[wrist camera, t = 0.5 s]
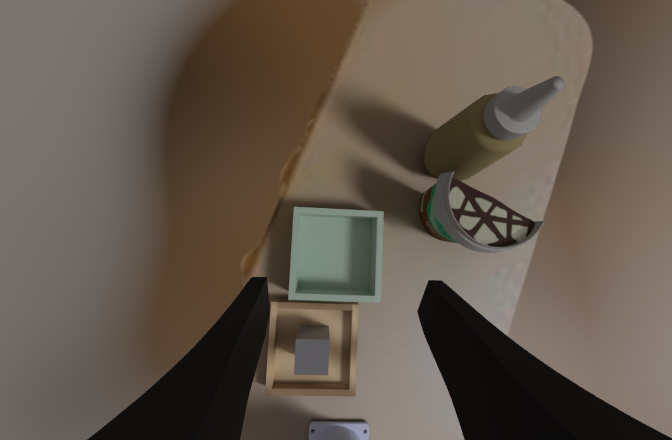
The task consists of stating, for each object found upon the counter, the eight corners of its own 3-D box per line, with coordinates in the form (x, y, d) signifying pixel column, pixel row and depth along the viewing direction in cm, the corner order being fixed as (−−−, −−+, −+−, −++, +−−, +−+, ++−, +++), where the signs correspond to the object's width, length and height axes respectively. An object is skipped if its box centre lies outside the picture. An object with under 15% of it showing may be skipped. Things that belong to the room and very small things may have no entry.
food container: (395, 224, 35) (423, 218, 25) (414, 188, 36) (449, 168, 26) (468, 265, 35) (526, 275, 25) (486, 228, 36) (548, 224, 26)
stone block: (327, 356, 32) (328, 375, 28) (297, 355, 32) (293, 374, 28) (328, 326, 33) (329, 339, 28) (299, 325, 33) (295, 339, 28)
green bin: (374, 295, 34) (381, 302, 30) (292, 292, 33) (288, 299, 29) (376, 214, 35) (383, 211, 31) (297, 210, 34) (293, 206, 30)
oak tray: (353, 387, 33) (355, 396, 31) (268, 386, 32) (265, 395, 30) (356, 301, 34) (358, 304, 32) (274, 298, 33) (271, 301, 31)
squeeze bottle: (466, 135, 37) (601, 36, 19) (469, 187, 36) (612, 135, 18) (414, 134, 36) (503, 32, 18) (416, 187, 36) (510, 133, 18)
